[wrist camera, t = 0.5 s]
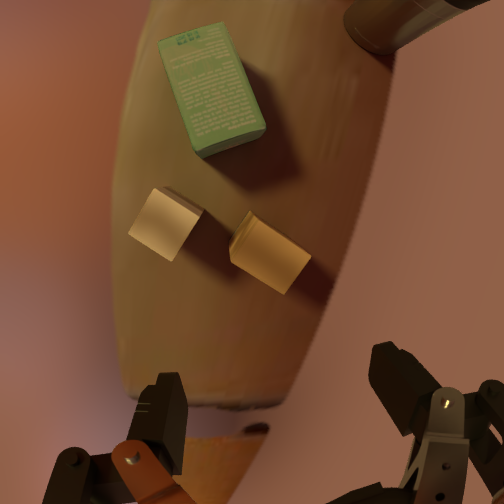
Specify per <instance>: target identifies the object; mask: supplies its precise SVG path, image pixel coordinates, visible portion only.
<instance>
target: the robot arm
mask: <svg viewBox="0 0 504 504" xmlns="http://www.w3.org/2000/svg"><path fill="white" fill-rule="evenodd" d="M487 1H489V0H355V1H354V3H353V4H352V5H351V6H350V7H349V8H348V10H347V11H346V12H345V14H344V25H345V27H346V30H347V32H348V33H349V35H350V36H351V37H352V38H353V40H354V41H355V42H356V43H358V44H359V45H360V46H361V47H363V48H364V49H366V50H368V51H370V52H372V53H375V54H379V55H388V54H391V53H393V52H395V51H396V50H398V49H399V48H401V47H403V46H404V45H406V44H408V43H409V42H411V41H413V40H414V39H416V38H418V37H419V36H421V35H423V34H425V33H426V32H428V31H430V30H432V29H433V28H435V27H437V26H439V25H441V24H442V23H444V22H446V21H448V20H450V19H452V18H453V17H455V16H457V15H459V14H461V13H463V12H465V11H467V10H469V9H471V8H473V7H475V6H477V5H480V4H482V3H484V2H487ZM368 376H369V382H370V385H371V387H372V388H373V389H374V391H375V393H376V395H377V396H378V398H379V399H380V401H381V402H382V404H383V406H384V407H385V409H386V410H387V412H388V414H389V415H390V417H391V418H392V420H393V422H394V423H395V425H396V426H397V428H398V430H399V431H400V433H401V434H402V436H403V437H404V436H406V435H408V434H411V433H413V435H414V436H415V437H414V439H413V443H412V447H411V451H410V455H409V458H408V462H407V466H406V469H405V473H404V476H403V478H402V481H401V483H400V485H399V487H398V488H392V487H391V488H382V485H381V483H380V482H378V483H375V484H372V485H369V486H366V487H363V488H360V489H356V490H353V491H350V492H349V493H347V494H345V495H343V496H341V497H339V498H337V499H335V500H333V501H331V502H329V503H326V504H462V500H463V495H464V489H465V481H466V474H467V466H468V457H469V458H470V460H471V461H472V463H473V465H474V467H475V468H476V470H477V471H478V473H479V475H480V476H481V478H482V479H483V481H484V483H485V484H486V486H487V488H488V490H489V492H490V493H491V495H492V497H493V499H492V504H504V384H503V383H501V382H500V381H497V380H486V381H485V382H483V383H482V384H481V386H480V388H479V390H478V392H473V393H468V394H462V393H461V392H460V391H459V390H457V389H454V388H451V387H442V386H441V385H440V384H439V383H438V382H437V381H436V380H435V379H434V377H433V376H432V375H431V374H430V373H429V372H428V371H427V370H426V369H425V368H424V367H423V365H422V364H421V363H419V361H418V360H417V359H416V358H415V357H414V356H413V355H412V354H411V353H409V352H407V351H405V350H403V349H401V350H399V349H398V348H397V347H396V346H395V345H394V344H393V342H391V341H388V342H384V343H380V344H376V345H374V346H373V348H372V354H371V361H370V367H369V374H368ZM135 411H136V412H135V413H134V416H133V419H132V423H131V426H130V429H129V433H128V436H127V439H126V441H123V442H121V443H119V444H118V445H117V446H116V447H115V448H114V449H113V451H112V453H107V454H100V455H92V456H90V455H89V454H88V453H87V452H86V451H85V450H84V449H82V448H79V447H71V448H68V449H65V450H63V451H62V452H61V453H60V454H59V456H58V458H57V460H56V463H55V466H54V468H53V471H52V474H51V477H50V480H49V483H48V486H47V490H46V492H45V495H44V499H43V502H42V504H124V503H132V502H137V503H138V504H197V503H196V502H195V501H194V500H193V499H192V498H191V496H190V495H189V494H188V493H187V492H186V491H185V490H184V489H183V488H182V487H181V486H180V485H178V484H177V483H176V482H175V480H174V479H173V478H172V475H182V464H183V454H184V444H185V435H186V425H187V417H188V403H187V399H186V395H185V392H184V389H183V386H182V382H181V379H180V376H179V373H178V372H169V373H159V375H158V378H157V381H156V385H148V386H147V387H146V388H145V389H144V390H143V391H142V392H141V394H140V397H139V400H138V404H137V407H136V410H135ZM491 424H492V425H493V426H494V427H495V428H496V430H497V431H498V432H499V434H500V435H501V436H502V440H503V443H502V445H501V443H500V442H499V441H498V440H497V438H496V437H495V435H494V434H493V433H492V431H491V430H490V429H489V427H490V425H491Z"/></svg>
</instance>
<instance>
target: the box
mask: <svg viewBox="0 0 504 504" xmlns="http://www.w3.org/2000/svg"><path fill="white" fill-rule="evenodd" d="M157 44H158V48H159V53H160V56H161V59H162V62H163V65H164V68H165V71H166V73H167V76H168V79H169V82H170V85H171V88H172V91H173V93H174V96H175V99H176V102H177V105H178V108H179V110H180V113H181V116H182V119H183V122H184V124H185V127H186V130H187V133H188V135H189V138H190V141H191V144H192V148H193V150H194V151H195V153H196V154H197V155H198V156H199V157H200V158H201V159H203V158H205V157H208V156H210V155H213V154H216V153H218V152H221V151H224V150H227V149H229V148H232V147H235V146H238V145H241V144H244V143H247V142H250V141H253V140H256V139H258V138H260V137H261V136H262V135H263V134H264V132H265V131H266V129H267V128H266V123H265V121H264V118H263V116H262V113H261V111H260V108H259V106H258V103H257V101H256V98H255V96H254V93H253V91H252V88H251V85H250V83H249V81H248V78H247V76H246V73H245V71H244V68H243V66H242V63H241V61H240V58H239V56H238V53H237V51H236V48H235V46H234V43H233V41H232V39H231V36H230V34H229V32H228V30H227V28H226V26H225V24H224V23H223V22H219V23H215V24H211V25H207V26H203V27H200V28H196V29H193V30H190V31H186V32H183V33H180V34H177V35H174V36H171V37H168V38H165V39H163V40H160V41H158V42H157Z"/></svg>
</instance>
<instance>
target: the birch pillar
mask: <svg viewBox="0 0 504 504" xmlns="http://www.w3.org/2000/svg"><path fill="white" fill-rule="evenodd" d="M203 211H204V208H202V207H201V206H199V205H198V204H196V203H195V202H193V201H192V200H190V199H189V198H187V197H185V196H184V195H182V194H181V193H179V192H178V191H176V190H175V189H173V188H171V187H170V186H168V187H158V188H154V189H153V191H152V193H151V194H150V196H149V198H148V199H147V201H146V203H145V205H144V206H143V208H142V210H141V211H140V213H139V215H138V217H137V218H136V220H135V222H134V224H133V226H132V227H131V229H130V231H129V233H128V234H129V235H131V236H132V237H134V238H135V239H137V240H138V241H140V242H141V243H143V244H144V245H146V246H148V247H149V248H151V249H152V250H154V251H155V252H157V253H158V254H160V255H162V256H163V257H165V258H166V259H168V260H169V261H171V262H172V261H173V259H174V257H175V256H176V254H177V252H178V251H179V249H180V248H181V246H182V244H183V243H184V241H185V239H186V238H187V236H188V235H189V233H190V232H191V230H192V228H193V227H194V225H195V224H196V222H197V221H198V219H199V217H200V216H201V214H202V213H203Z"/></svg>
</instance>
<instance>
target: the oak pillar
mask: <svg viewBox="0 0 504 504" xmlns="http://www.w3.org/2000/svg"><path fill="white" fill-rule="evenodd" d="M228 243H229V251H230V259H231V262H232V263H233V264H235V265H237V266H238V267H240V268H241V269H243V270H245V271H246V272H248V273H249V274H251V275H253V276H254V277H256V278H257V279H259V280H261V281H262V282H264V283H266V284H267V285H269V286H270V287H272V288H274V289H275V290H277V291H279V292H280V293H282V294H283V295H284V294H285V293H286V291H287V290H288V288H289V287H290V286H291V284H292V283H293V282H294V280H295V279H296V277H297V276H298V275H299V273H300V272H301V271H302V269H303V268H304V266H305V265H306V264H307V262H308V261H309V259H310V258H311V255H310V254H308V253H307V252H306V251H305V250H304V249H303V248H301V247H300V246H299V245H298V244H297V243H295V242H294V241H293V240H292V239H291V238H289V237H288V236H286V235H285V234H284V233H282V232H281V231H279V230H278V229H276V228H275V227H273V226H272V225H270V224H269V223H267V222H266V221H264V220H263V219H262V218H260V217H259V216H257V215H256V214H254V213H253V212H251V211H250V210H249V212H248V213H247V215H246V216H245V218H244V219H243V221H242V222H241V224H240V225H239V227H238V228H237V230H236V231H235V233H234V234H233V236H232V237H231V239H230V240H229V242H228Z"/></svg>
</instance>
